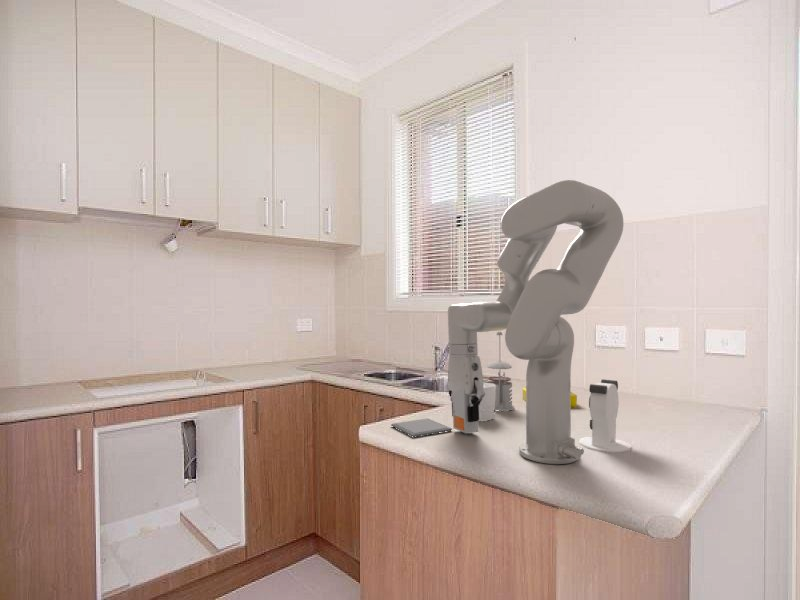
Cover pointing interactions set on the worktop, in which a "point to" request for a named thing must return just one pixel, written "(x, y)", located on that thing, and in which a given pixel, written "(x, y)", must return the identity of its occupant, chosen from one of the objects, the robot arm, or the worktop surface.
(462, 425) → the skincare box
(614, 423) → the panda figurine
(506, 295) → the robot arm
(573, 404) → the element tile
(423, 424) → the tray
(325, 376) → the worktop surface
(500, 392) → the french press
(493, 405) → the white cup
